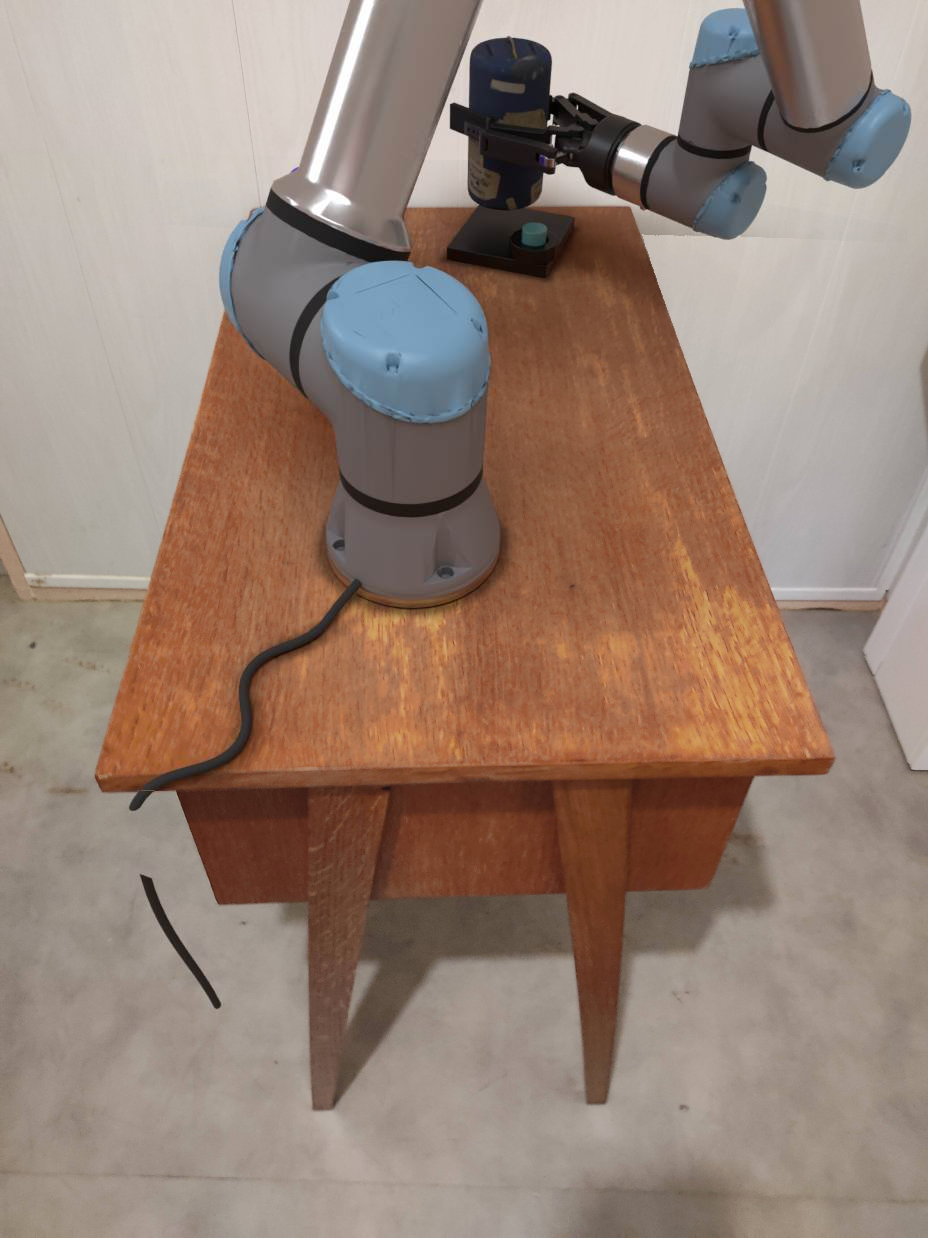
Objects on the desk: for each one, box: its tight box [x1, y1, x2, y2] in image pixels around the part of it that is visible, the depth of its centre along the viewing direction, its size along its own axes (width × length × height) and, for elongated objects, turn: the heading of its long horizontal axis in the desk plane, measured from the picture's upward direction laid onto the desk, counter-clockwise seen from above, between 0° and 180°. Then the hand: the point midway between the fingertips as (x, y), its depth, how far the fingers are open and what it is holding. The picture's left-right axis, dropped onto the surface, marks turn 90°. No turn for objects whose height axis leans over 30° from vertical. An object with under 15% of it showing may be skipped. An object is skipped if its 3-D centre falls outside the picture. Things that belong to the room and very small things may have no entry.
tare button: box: [522, 223, 547, 246], centre depth 107 cm, size 3×3×2 cm
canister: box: [467, 35, 553, 211], centre depth 105 cm, size 10×10×18 cm
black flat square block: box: [446, 204, 576, 279], centre depth 112 cm, size 14×14×4 cm
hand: (481, 104), depth 106 cm, fingers closed on canister, 9 cm apart
